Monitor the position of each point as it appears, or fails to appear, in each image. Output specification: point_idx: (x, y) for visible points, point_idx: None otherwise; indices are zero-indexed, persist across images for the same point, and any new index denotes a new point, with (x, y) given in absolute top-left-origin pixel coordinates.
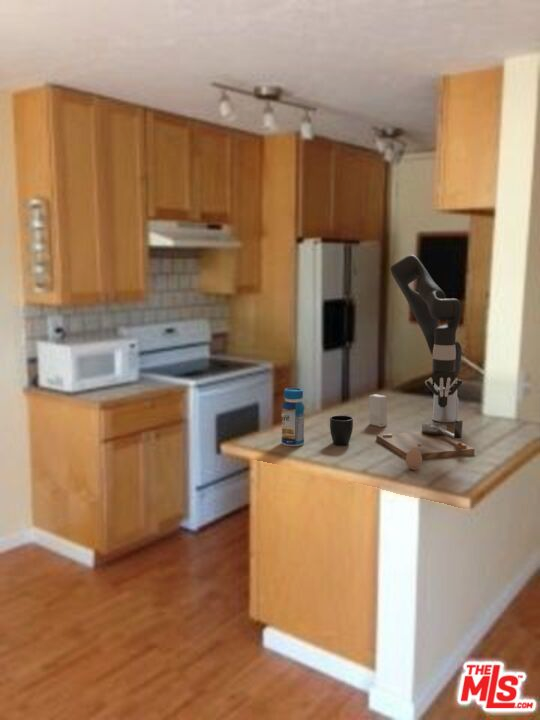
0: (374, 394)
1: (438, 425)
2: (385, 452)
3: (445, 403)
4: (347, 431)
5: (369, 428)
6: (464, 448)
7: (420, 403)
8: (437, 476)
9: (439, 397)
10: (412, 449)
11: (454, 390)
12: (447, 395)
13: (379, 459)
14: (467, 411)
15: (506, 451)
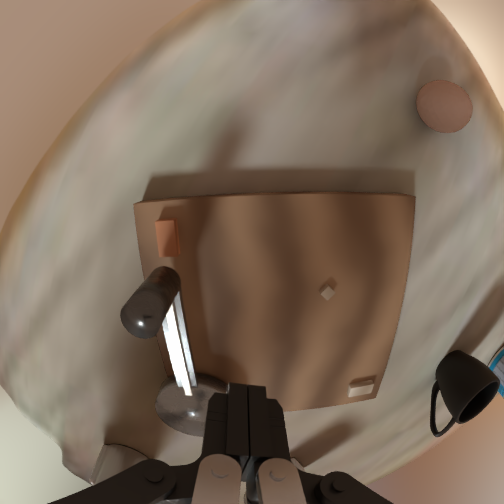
0: None
1: (180, 412)
2: (418, 288)
3: (228, 403)
4: (473, 366)
5: (322, 452)
6: (168, 216)
7: None
8: (383, 37)
9: (288, 457)
10: (470, 105)
11: (111, 491)
12: (206, 464)
13: (460, 230)
14: (81, 460)
15: (43, 215)
